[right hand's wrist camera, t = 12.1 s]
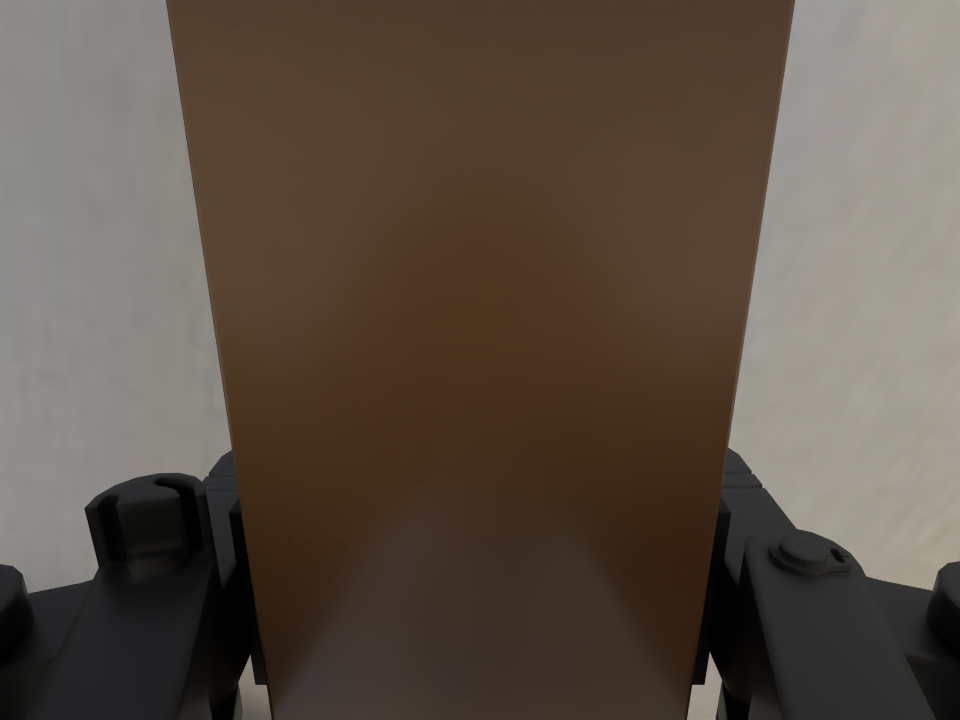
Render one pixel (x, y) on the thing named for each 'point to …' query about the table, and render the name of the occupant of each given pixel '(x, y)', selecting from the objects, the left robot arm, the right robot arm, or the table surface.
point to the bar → (480, 335)
